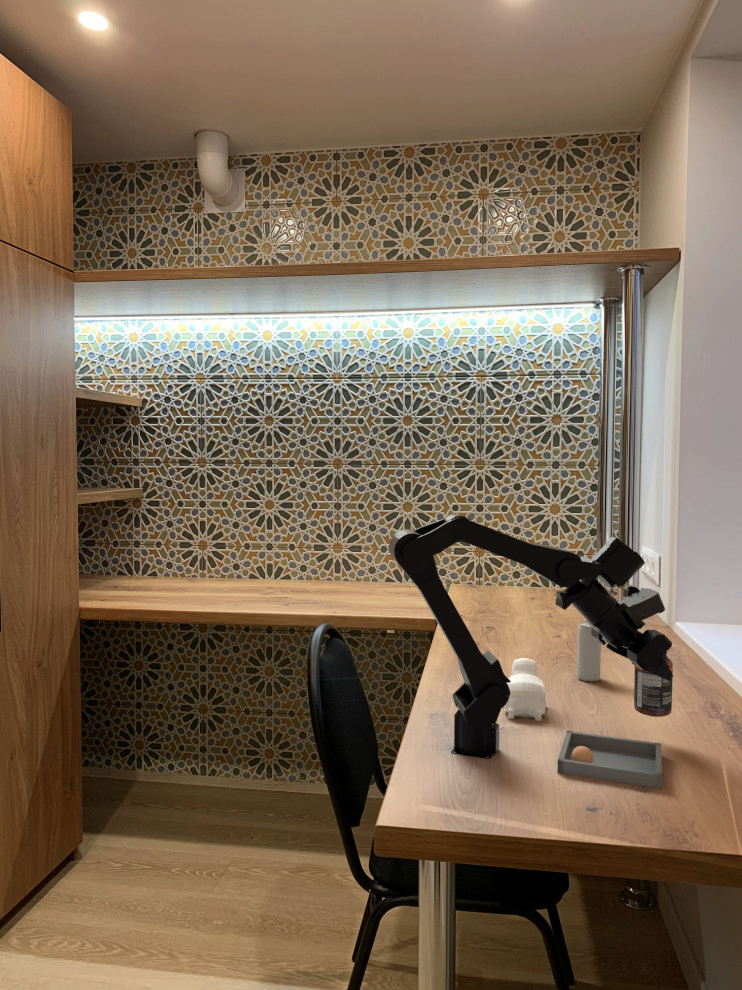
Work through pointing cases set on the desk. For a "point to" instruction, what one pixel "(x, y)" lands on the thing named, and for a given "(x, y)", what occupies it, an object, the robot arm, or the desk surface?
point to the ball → (582, 754)
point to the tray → (613, 759)
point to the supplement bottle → (653, 692)
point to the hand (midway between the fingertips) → (661, 672)
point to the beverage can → (588, 654)
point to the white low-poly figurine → (525, 691)
